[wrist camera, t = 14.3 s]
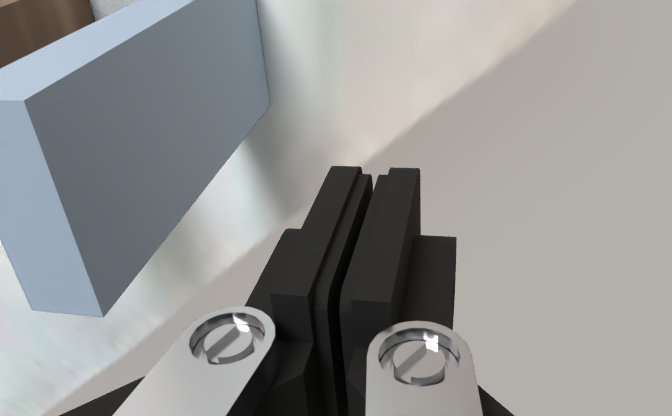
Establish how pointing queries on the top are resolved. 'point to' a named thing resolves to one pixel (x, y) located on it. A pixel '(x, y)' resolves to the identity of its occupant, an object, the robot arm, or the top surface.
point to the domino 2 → (120, 141)
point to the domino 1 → (38, 24)
